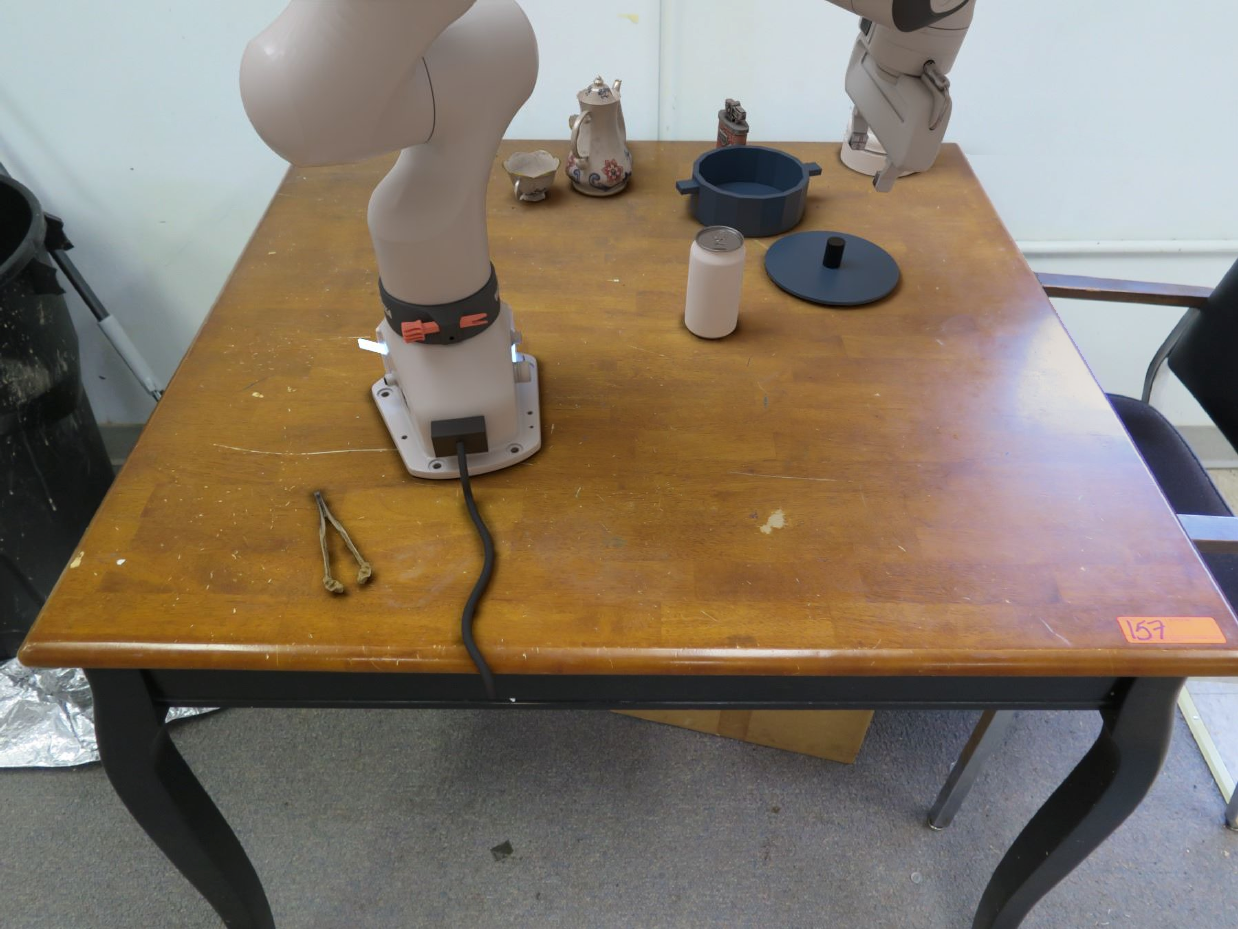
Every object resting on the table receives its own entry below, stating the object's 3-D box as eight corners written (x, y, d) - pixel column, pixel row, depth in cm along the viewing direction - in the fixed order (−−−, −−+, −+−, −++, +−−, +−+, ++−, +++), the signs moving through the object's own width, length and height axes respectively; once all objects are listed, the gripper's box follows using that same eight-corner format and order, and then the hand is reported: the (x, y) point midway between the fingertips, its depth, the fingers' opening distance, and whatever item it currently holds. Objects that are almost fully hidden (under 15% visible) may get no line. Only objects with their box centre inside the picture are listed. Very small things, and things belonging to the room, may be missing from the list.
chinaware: (582, 144, 137) (569, 40, 126) (669, 153, 131) (664, 45, 119) (496, 216, 120) (472, 103, 108) (592, 231, 113) (578, 112, 102)
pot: (838, 225, 115) (846, 186, 111) (696, 247, 111) (700, 207, 106) (788, 174, 126) (794, 137, 122) (658, 192, 122) (659, 154, 117)
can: (736, 311, 100) (747, 225, 91) (736, 342, 96) (748, 254, 87) (685, 307, 100) (692, 222, 92) (683, 338, 96) (690, 251, 87)
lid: (922, 296, 103) (933, 265, 99) (798, 319, 99) (805, 287, 96) (856, 229, 114) (863, 200, 111) (743, 247, 111) (747, 217, 107)
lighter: (709, 156, 131) (715, 94, 124) (728, 153, 131) (735, 91, 124) (728, 177, 125) (735, 114, 118) (748, 174, 126) (756, 111, 119)
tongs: (329, 490, 78) (324, 477, 77) (378, 583, 71) (373, 571, 70) (287, 507, 77) (281, 494, 75) (333, 604, 70) (327, 592, 68)
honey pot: (929, 154, 132) (964, 37, 119) (905, 184, 124) (939, 63, 111) (856, 136, 136) (881, 22, 123) (828, 164, 129) (852, 46, 116)
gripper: (984, 89, 75) (924, 218, 85) (909, 8, 88) (865, 128, 98) (923, 84, 74) (870, 215, 84) (857, 2, 87) (818, 124, 97)
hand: (867, 167), depth 91 cm, fingers open, 8 cm apart
